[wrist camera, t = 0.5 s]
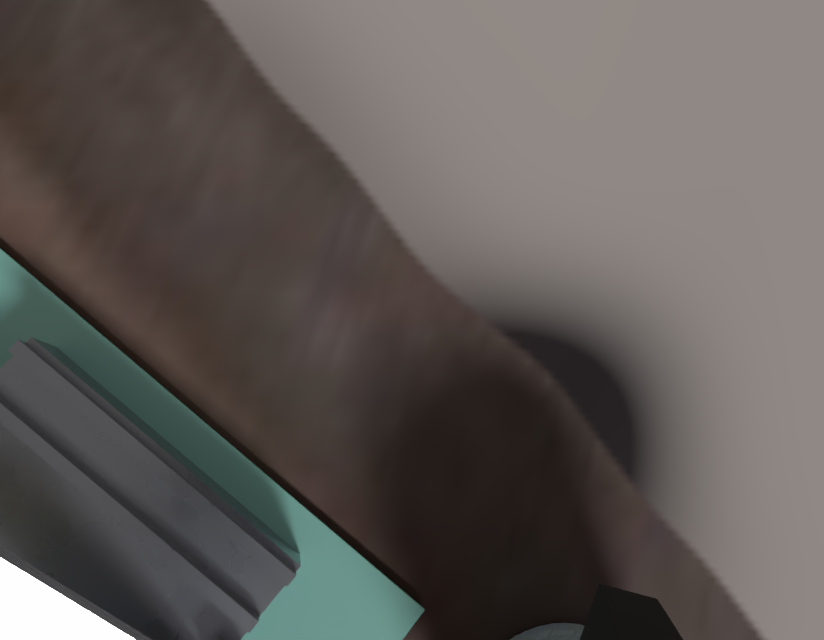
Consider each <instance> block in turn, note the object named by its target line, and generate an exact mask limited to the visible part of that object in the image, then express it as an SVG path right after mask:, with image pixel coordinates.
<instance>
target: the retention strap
mask: <svg viewBox="0 0 824 640" xmlns="http://www.w3.org/2000/svg"><path fill="white" fill-rule="evenodd" d="M0 640H152V639H150V638H149V637H147V636H146V635H144V634H142V633H141V632H139V631H137V630H136V629H134V628H133V627H131V626H129V625H128V624H126V623H124V622H123V621H121V620H119V619H118V618H116V617H115V616H113V615H111V614H110V613H108V612H106V611H105V610H103V609H102V608H100V607H98V606H97V605H95V604H93V603H92V602H90V601H88V600H87V599H85V598H84V597H82V596H80V595H79V594H77V593H75V592H74V591H72V590H71V589H69V588H67V587H66V586H64V585H62V584H61V583H59V582H58V581H56V580H54V579H53V578H51V577H49V576H48V575H46V574H44V573H43V572H41V571H40V570H38V569H36V568H35V567H33V566H31V565H30V564H28V563H27V562H25V561H23V560H22V559H20V558H18V557H17V556H15V555H14V554H12V553H10V552H9V551H7V550H5V549H4V548H2V547H0Z"/></svg>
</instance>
